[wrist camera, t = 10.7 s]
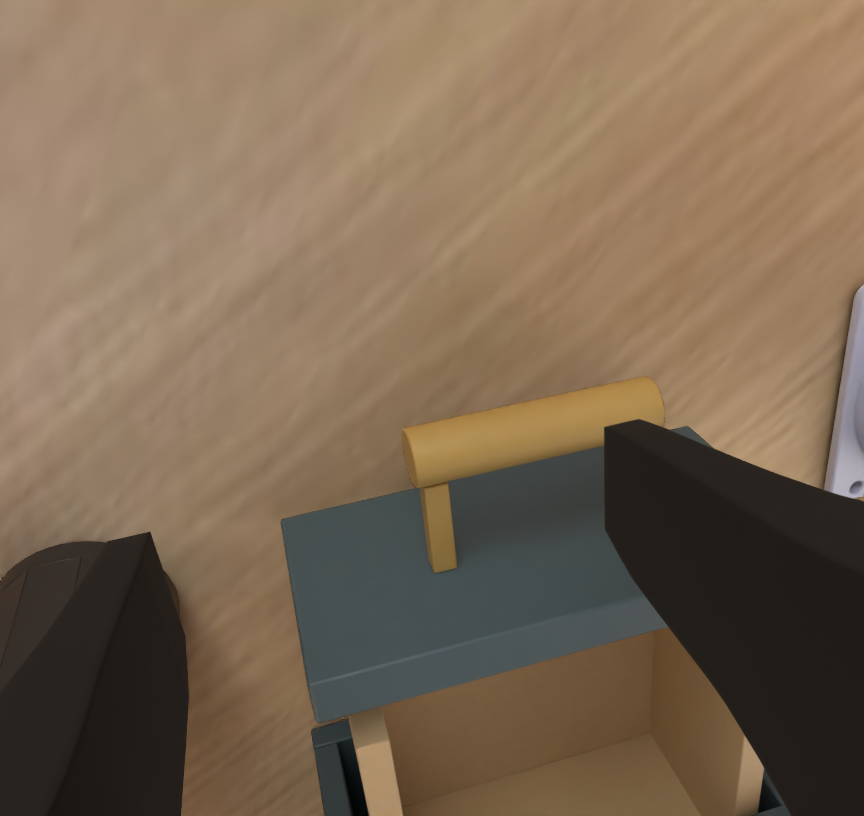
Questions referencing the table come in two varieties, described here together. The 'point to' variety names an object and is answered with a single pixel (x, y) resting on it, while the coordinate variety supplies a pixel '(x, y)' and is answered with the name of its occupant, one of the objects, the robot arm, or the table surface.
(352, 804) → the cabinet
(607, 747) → the drawer
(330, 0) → the table surface
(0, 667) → the black cup
